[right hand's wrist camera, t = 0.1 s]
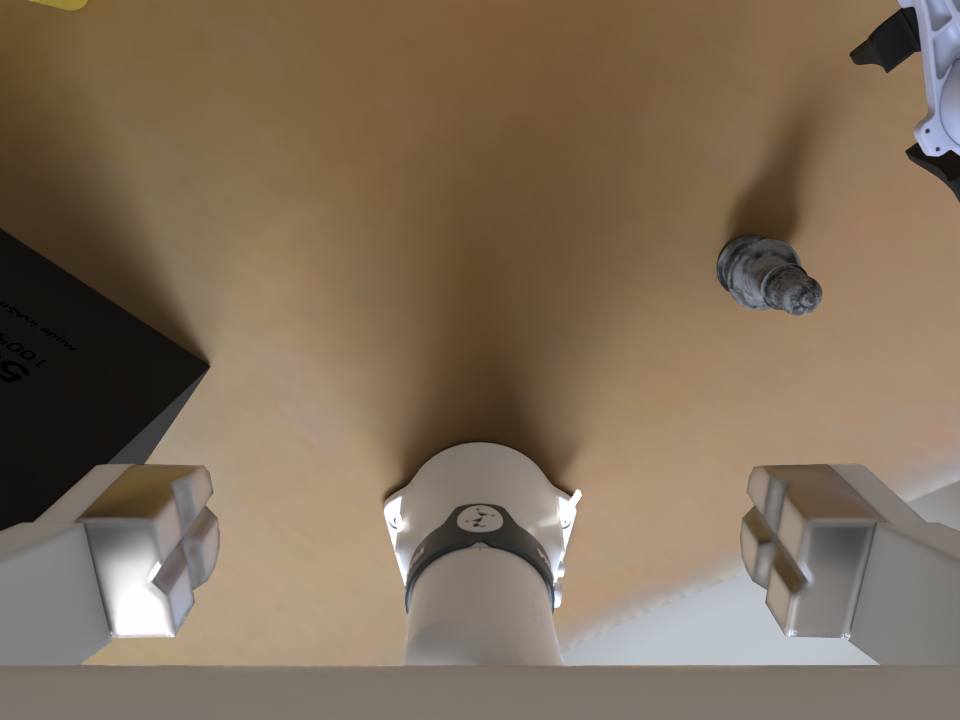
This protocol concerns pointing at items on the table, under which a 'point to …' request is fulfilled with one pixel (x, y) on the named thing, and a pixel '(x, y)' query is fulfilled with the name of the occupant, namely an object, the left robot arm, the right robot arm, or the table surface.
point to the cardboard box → (76, 383)
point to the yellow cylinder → (63, 4)
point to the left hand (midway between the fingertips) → (893, 97)
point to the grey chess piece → (767, 276)
